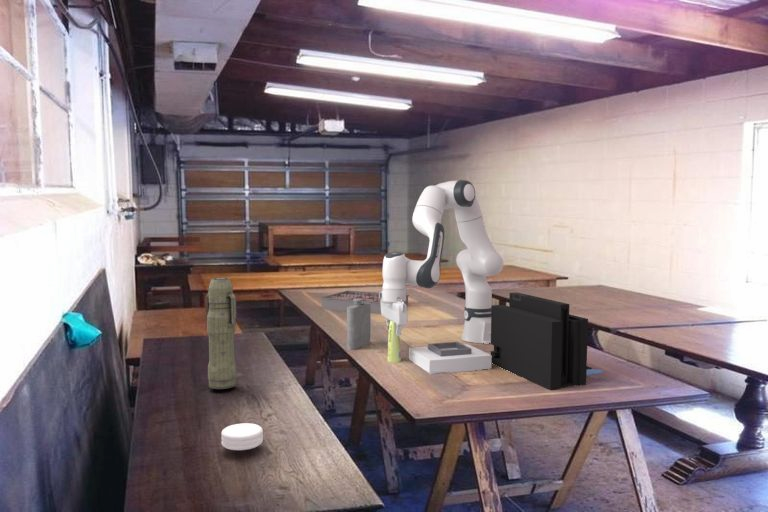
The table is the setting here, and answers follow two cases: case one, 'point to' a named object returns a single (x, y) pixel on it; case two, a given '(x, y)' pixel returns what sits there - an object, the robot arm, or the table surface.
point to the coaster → (242, 436)
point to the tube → (393, 344)
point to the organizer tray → (346, 299)
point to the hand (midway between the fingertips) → (394, 332)
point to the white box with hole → (450, 358)
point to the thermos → (221, 333)
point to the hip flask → (358, 325)
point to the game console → (540, 341)
